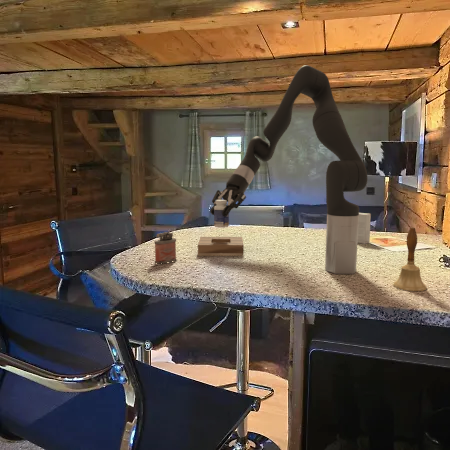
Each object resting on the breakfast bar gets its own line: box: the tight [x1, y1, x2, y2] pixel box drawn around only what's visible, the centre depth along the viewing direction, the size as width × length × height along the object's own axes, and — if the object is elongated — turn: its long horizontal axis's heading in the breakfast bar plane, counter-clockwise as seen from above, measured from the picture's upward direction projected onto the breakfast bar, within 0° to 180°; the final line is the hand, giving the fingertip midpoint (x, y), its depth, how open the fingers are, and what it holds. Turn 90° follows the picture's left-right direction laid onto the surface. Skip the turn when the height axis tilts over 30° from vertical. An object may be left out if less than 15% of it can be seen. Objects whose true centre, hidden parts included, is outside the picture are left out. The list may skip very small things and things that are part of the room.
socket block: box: [197, 236, 245, 257], centre depth 158 cm, size 16×16×4 cm
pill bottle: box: [213, 199, 230, 229], centre depth 156 cm, size 5×5×10 cm
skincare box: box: [357, 212, 372, 245], centre depth 175 cm, size 6×4×12 cm
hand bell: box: [392, 227, 428, 292], centre depth 113 cm, size 8×8×16 cm
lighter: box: [154, 231, 177, 265], centre depth 140 cm, size 8×3×10 cm, turn 135°
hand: (217, 214), depth 155 cm, fingers closed on pill bottle, 5 cm apart
